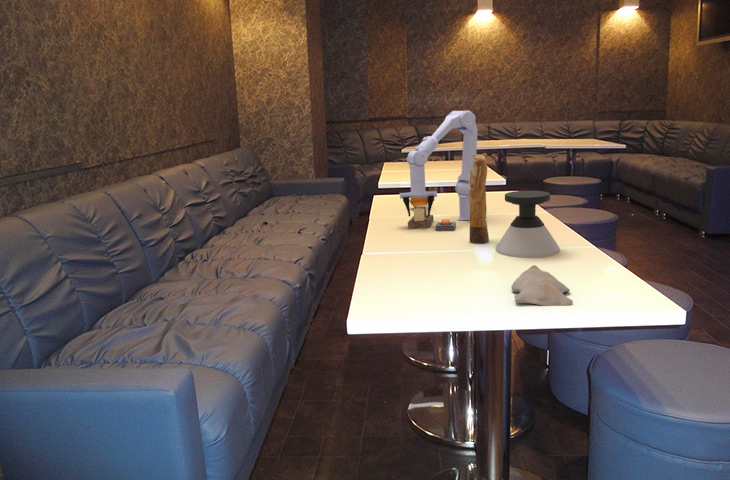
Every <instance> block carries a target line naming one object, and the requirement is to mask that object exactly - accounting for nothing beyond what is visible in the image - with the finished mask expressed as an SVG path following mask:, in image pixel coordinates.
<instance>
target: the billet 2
mask: <svg viewBox="0 0 730 480" xmlns="http://www.w3.org/2000/svg"><path fill="white" fill-rule="evenodd" d="M413 216H414V222H425V219H424V208H420V209H416V208H413Z"/></svg>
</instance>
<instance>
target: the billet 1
mask: <svg viewBox="0 0 730 480" xmlns="http://www.w3.org/2000/svg"><path fill="white" fill-rule="evenodd" d="M420 208H424V218H428V204H427V205H418V206H417V207H416V208H415V209H420Z"/></svg>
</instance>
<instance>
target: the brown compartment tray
mask: <svg viewBox="0 0 730 480" xmlns="http://www.w3.org/2000/svg"><path fill="white" fill-rule="evenodd" d="M424 219H425V222H414V215H413V216H412V217H411V218H410V219H409V220H408V221H407V229H408V230H411V229H412V230H414V229H415V230H416V229H417V230H420V229H423V230H424V229H425V230H426V229H429V228H430V227H431V225H432V224H433V222H434V214H430V216H428V218H424Z"/></svg>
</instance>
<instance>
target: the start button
mask: <svg viewBox="0 0 730 480" xmlns="http://www.w3.org/2000/svg"><path fill="white" fill-rule="evenodd" d="M441 222H442V225H450V222H451V220H450V219H449V218H448V219H447V218H444V219H441Z"/></svg>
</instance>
